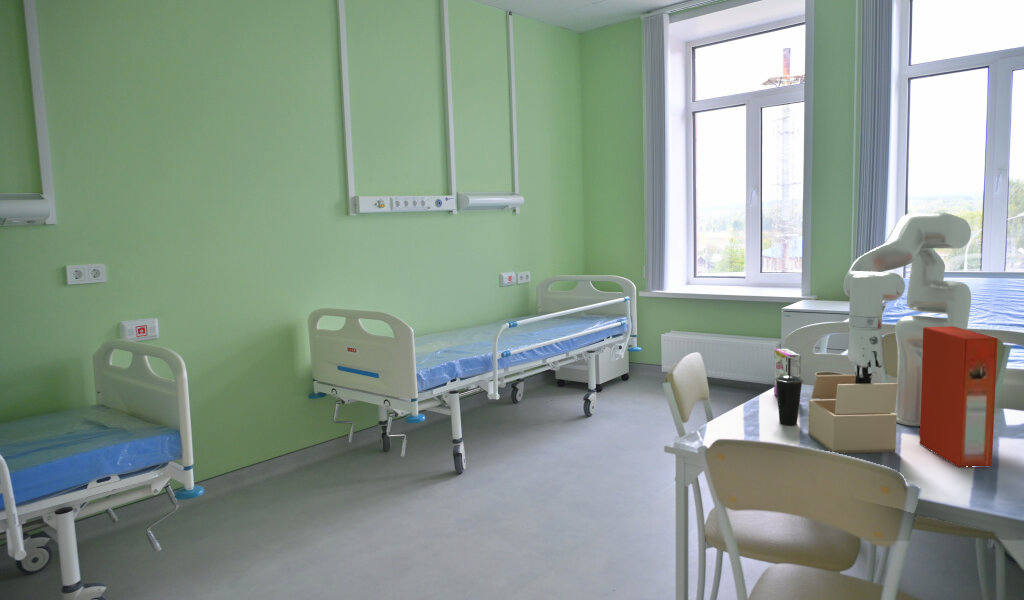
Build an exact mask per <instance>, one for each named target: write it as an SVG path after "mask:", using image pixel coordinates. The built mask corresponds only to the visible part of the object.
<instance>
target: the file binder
mask: <svg viewBox="0 0 1024 600" xmlns="http://www.w3.org/2000/svg"><path fill="white" fill-rule="evenodd" d="M997 357H998V337H996V336H995V337H994V336H991V335H988V334H983V333H979V332H976V331H973V330H968V329H967V330H965V329H961V328H958V327H954V326H948V327H925V328H923V353H922V384H921V416H920V427H919V444H920V445H921V444H922V445H923V446H922V445H921V446H922V447H924V446H925V447H924V448H926V449H927V448H928V450H929V449H930V450H929V451H931V450H932V451H933V453H934V452H935V453H934V454H936V453H937V454H938V455H937V454H936V455H937V456H939V455H940V456H939V457H941V456H942V457H943V458H942V457H941V458H942V459H944V458H945V459H944V460H946V459H947V460H948V461H947V460H946V461H947V462H949V461H950V462H949V463H951V462H952V463H953V464H952V463H951V464H952V465H954V464H955V465H954V466H956V465H957V466H958V468H959V467H966V466H968V467H972V466H990V467H992V466H993V451H994V449H993V447H994V429H995V428H994V425H995V404H996V402H995V401H996V386H997V385H996V382H997V379H996V377H997V360H998V358H997ZM932 451H931V452H932ZM957 466H956V467H957Z"/></svg>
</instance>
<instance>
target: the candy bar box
mask: <svg viewBox="0 0 1024 600" xmlns="http://www.w3.org/2000/svg"><path fill="white" fill-rule="evenodd" d="M773 354H774V355H773V356H774V357H773V358H774V361H773V362H774V363H773V364H774V366H773V367H774V372H773V373H774V377H773V379H774V380H773V381H774V382H773V383H774V384H773V387H774V389H773V395H774V396H776V397H777V398H778V396H777V383H776V380H775V378H776V377H779V376H782V375H788V358H791V369H790V375H794V376H797V377H799V378H801V357H802V356H801V354H799V353H797V352H795V351H793V350H791V349H789V348H774V352H773ZM800 403H801V401H800V402H799V404H800Z"/></svg>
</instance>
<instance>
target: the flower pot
mask: <svg viewBox="0 0 1024 600" xmlns="http://www.w3.org/2000/svg"><path fill="white" fill-rule="evenodd" d="M817 375H845V373H841V372H838V371H837V372H836V371H835V372H833V371H819V372H818V371H817V372H815V374H814V376H815V377H816V376H817ZM825 399H836V398H825ZM820 400H824V399H820Z"/></svg>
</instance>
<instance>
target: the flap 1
mask: <svg viewBox="0 0 1024 600" xmlns="http://www.w3.org/2000/svg"><path fill="white" fill-rule="evenodd" d="M844 374H845V373H844ZM873 375H874V374H872V378H871V381H872V380H873ZM855 379H856V376H855V373H853V374H852V373H851V374H848V373H847V374H845V375H817V376H816V375H815V381H814V386H813V388H812V392H811V400H821V399H825V398H836V395H837V384H855Z"/></svg>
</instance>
